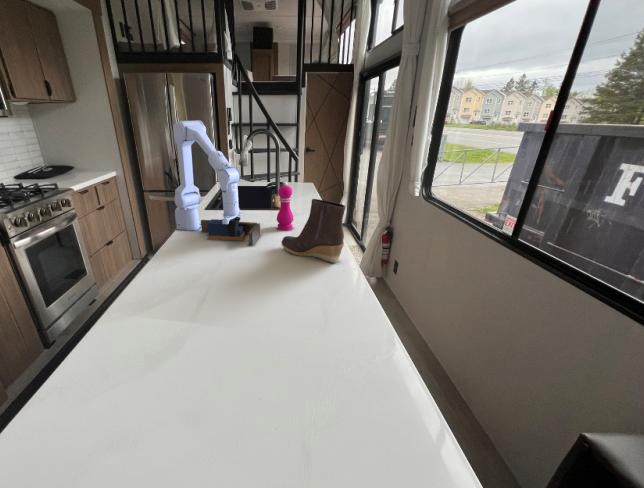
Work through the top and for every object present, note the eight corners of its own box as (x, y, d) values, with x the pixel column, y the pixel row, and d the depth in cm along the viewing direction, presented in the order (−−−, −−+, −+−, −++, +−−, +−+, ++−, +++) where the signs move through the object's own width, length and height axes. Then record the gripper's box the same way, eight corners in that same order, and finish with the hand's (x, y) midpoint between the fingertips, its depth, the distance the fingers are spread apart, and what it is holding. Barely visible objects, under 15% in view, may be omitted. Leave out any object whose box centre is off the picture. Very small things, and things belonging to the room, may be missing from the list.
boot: (289, 243, 124) (290, 191, 116) (347, 258, 111) (353, 200, 102) (276, 250, 118) (276, 195, 109) (336, 267, 105) (341, 206, 96)
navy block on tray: (190, 241, 128) (188, 229, 125) (203, 230, 139) (202, 219, 137) (252, 245, 123) (252, 233, 120) (260, 234, 134) (260, 222, 132)
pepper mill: (274, 230, 138) (274, 183, 129) (279, 225, 144) (279, 179, 136) (291, 231, 136) (291, 183, 127) (295, 226, 142) (295, 180, 134)
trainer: (207, 239, 130) (205, 223, 127) (212, 234, 135) (210, 219, 132) (241, 240, 128) (240, 224, 125) (244, 235, 133) (244, 220, 130)
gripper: (234, 207, 112) (237, 243, 118) (246, 197, 125) (248, 230, 131) (215, 206, 114) (218, 242, 120) (229, 196, 126) (231, 229, 132)
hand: (232, 236), depth 125 cm, fingers closed
